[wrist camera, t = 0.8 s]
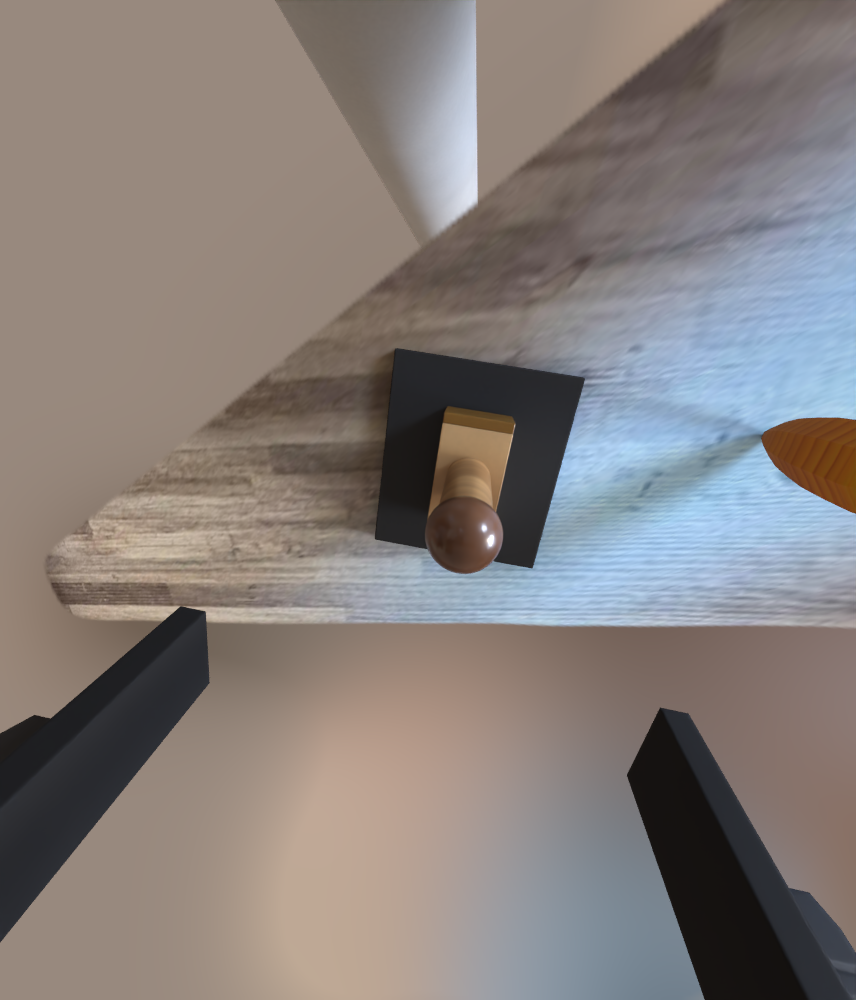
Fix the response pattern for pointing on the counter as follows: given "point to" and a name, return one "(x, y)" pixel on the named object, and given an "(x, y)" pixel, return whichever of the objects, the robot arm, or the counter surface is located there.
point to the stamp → (468, 489)
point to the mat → (487, 388)
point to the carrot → (817, 456)
